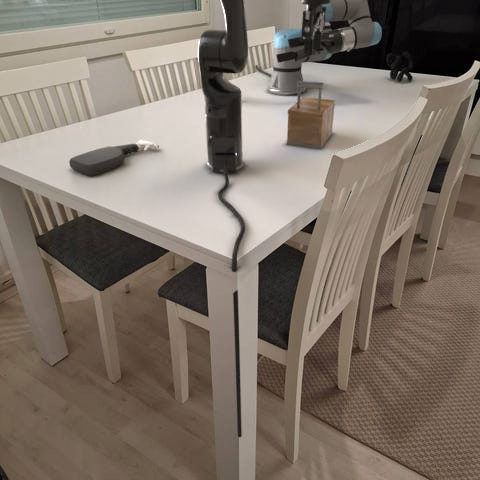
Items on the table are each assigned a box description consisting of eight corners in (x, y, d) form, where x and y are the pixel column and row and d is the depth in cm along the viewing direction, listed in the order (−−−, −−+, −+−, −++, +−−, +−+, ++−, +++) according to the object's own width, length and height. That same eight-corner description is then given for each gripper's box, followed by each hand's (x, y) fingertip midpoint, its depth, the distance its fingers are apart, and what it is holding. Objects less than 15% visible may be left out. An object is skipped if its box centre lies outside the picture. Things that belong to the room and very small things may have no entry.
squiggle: (400, 92, 202) (376, 71, 205) (417, 76, 202) (392, 56, 205) (405, 81, 191) (380, 59, 194) (423, 64, 191) (397, 42, 194)
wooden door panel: (322, 117, 124) (325, 86, 120) (287, 113, 128) (288, 83, 123) (334, 103, 136) (337, 74, 131) (302, 100, 139) (303, 72, 135)
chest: (320, 148, 129) (323, 117, 125) (286, 144, 133) (288, 113, 128) (331, 133, 141) (334, 103, 136) (300, 129, 144) (302, 100, 139)
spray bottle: (67, 168, 120) (139, 144, 136) (91, 178, 114) (163, 151, 130) (65, 157, 118) (137, 134, 134) (89, 167, 112) (162, 142, 128)
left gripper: (309, -19, 118) (306, 47, 127) (293, -17, 107) (290, 55, 116) (338, -19, 116) (332, 48, 124) (324, -17, 105) (319, 57, 113)
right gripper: (357, 37, 146) (297, 48, 142) (327, 63, 170) (275, 74, 166) (352, 13, 145) (291, 25, 141) (322, 43, 169) (270, 53, 165)
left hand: (312, 51), depth 120 cm, fingers open, 8 cm apart
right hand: (282, 51), depth 154 cm, fingers open, 13 cm apart
